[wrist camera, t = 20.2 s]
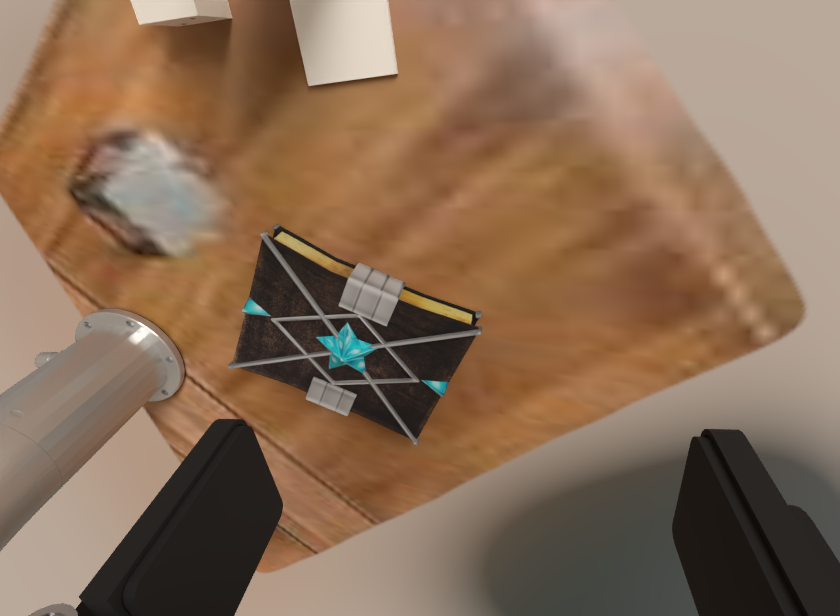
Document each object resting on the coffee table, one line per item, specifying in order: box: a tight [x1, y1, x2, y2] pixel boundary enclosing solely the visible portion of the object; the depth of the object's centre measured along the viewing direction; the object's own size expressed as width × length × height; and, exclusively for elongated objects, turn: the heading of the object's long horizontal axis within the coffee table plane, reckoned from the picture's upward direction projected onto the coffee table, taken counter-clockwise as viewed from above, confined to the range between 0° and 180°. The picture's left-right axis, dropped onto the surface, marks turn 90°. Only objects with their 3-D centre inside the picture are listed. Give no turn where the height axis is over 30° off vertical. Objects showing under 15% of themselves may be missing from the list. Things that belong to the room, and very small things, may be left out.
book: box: [228, 224, 482, 445], centre depth 45 cm, size 22×17×5 cm
